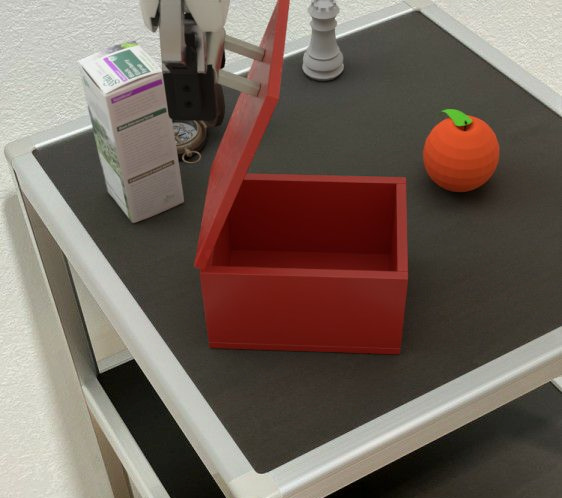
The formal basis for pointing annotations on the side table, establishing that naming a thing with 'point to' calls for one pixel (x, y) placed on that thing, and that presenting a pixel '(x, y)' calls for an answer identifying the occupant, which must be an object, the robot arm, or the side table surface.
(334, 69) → the rook chess piece
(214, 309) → the red box
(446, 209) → the side table surface
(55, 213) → the side table surface
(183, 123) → the compass
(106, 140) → the syrup box
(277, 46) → the red box lid
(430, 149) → the clementine
